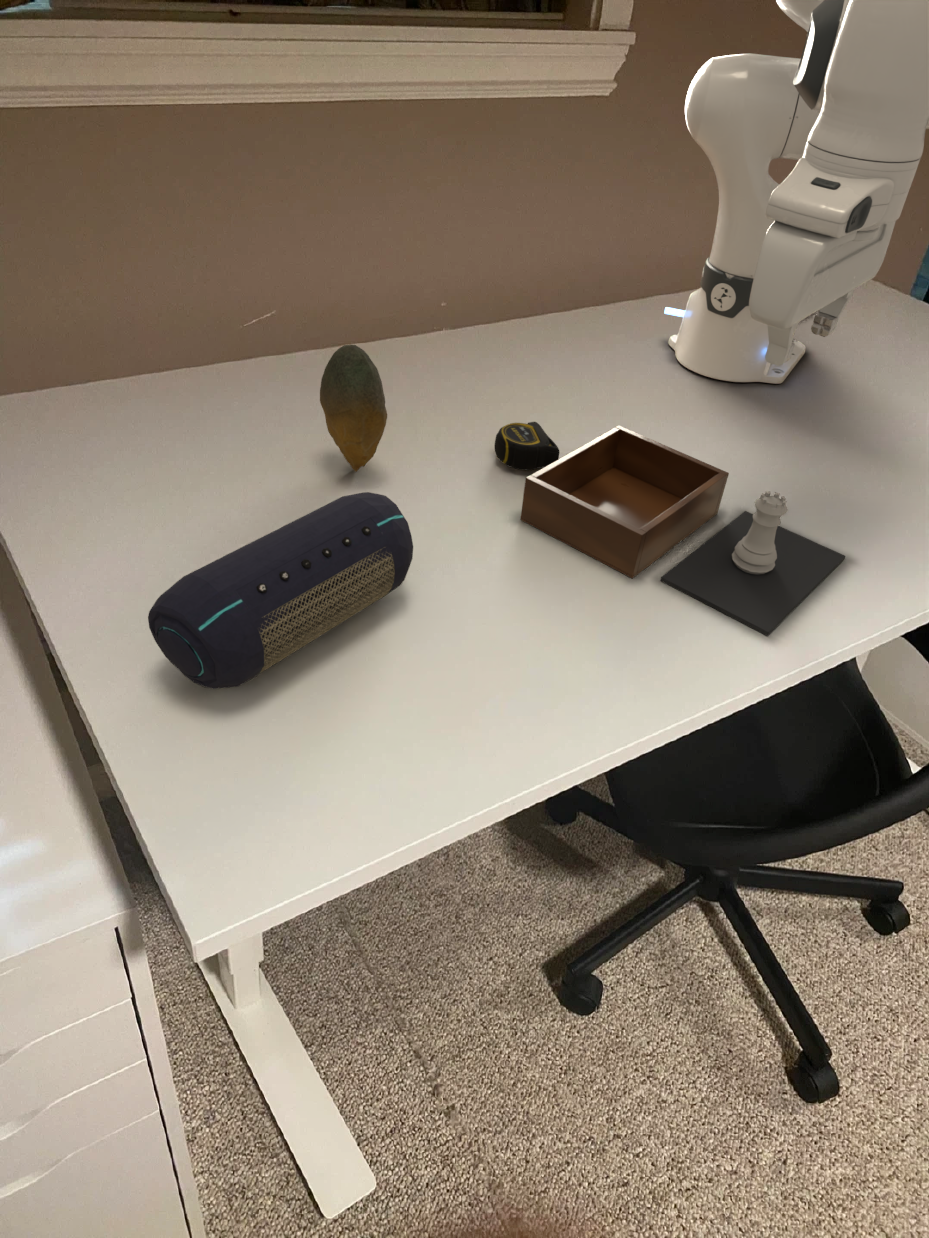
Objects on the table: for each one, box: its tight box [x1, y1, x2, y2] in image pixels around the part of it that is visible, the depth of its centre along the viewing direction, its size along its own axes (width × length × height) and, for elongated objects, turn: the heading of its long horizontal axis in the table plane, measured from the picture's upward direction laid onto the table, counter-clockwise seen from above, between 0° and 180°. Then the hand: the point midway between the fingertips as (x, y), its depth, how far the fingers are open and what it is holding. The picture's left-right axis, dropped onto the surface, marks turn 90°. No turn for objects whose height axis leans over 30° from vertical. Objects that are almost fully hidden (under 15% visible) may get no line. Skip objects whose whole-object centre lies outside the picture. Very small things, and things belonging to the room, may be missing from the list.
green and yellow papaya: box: [319, 344, 388, 473], centre depth 100 cm, size 10×6×15 cm, turn 37°
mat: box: [659, 510, 847, 637], centre depth 95 cm, size 18×12×1 cm, turn 138°
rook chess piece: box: [732, 491, 789, 575], centre depth 92 cm, size 4×4×8 cm
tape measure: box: [494, 421, 560, 471], centre depth 108 cm, size 7×7×4 cm
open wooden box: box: [519, 425, 730, 579], centre depth 99 cm, size 18×15×5 cm
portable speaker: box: [147, 491, 414, 690], centre depth 80 cm, size 25×10×10 cm, turn 139°
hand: (799, 347), depth 84 cm, fingers open, 8 cm apart
